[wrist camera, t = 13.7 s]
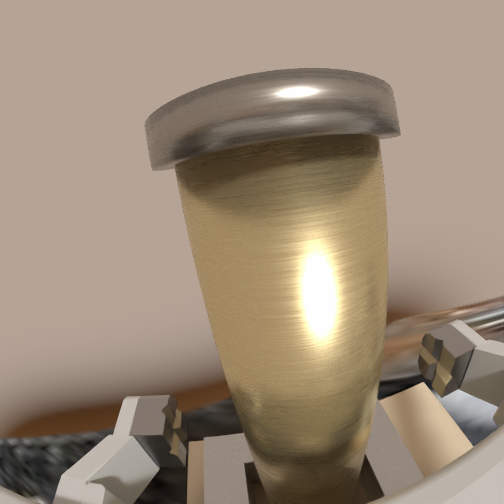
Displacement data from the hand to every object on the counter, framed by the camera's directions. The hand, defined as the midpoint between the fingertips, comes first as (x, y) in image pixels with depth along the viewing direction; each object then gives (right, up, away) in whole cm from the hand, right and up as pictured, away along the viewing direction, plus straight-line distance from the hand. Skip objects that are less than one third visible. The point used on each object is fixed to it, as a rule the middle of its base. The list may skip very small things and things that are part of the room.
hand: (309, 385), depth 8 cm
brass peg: (+2, -11, +4) cm, 12 cm away
